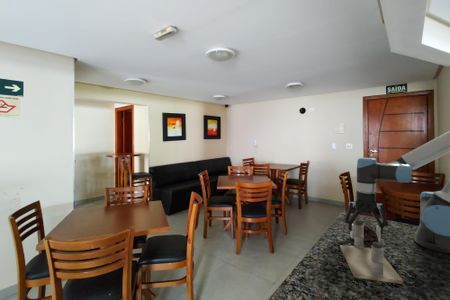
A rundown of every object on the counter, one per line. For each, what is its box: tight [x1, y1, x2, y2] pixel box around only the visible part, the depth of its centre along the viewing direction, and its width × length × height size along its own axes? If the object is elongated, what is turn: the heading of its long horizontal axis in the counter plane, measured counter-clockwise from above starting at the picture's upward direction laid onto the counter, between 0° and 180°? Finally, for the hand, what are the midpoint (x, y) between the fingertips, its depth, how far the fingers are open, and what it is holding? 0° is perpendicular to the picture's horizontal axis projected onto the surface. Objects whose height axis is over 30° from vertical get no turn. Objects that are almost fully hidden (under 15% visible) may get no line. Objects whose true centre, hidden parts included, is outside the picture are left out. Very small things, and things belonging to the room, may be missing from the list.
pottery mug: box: [363, 224, 380, 243], centre depth 101 cm, size 12×10×8 cm
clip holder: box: [339, 220, 404, 285], centre depth 82 cm, size 14×22×12 cm, turn 164°
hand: (364, 238), depth 101 cm, fingers open, 10 cm apart
